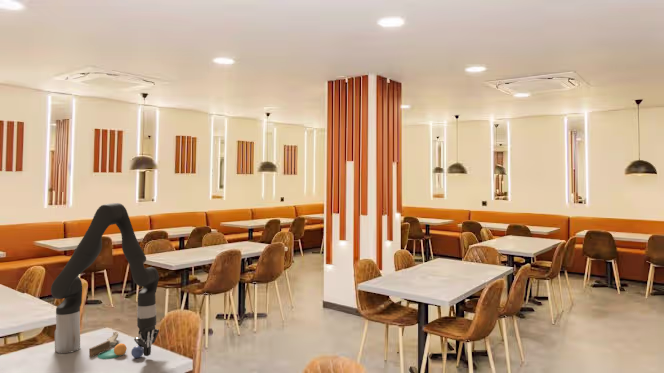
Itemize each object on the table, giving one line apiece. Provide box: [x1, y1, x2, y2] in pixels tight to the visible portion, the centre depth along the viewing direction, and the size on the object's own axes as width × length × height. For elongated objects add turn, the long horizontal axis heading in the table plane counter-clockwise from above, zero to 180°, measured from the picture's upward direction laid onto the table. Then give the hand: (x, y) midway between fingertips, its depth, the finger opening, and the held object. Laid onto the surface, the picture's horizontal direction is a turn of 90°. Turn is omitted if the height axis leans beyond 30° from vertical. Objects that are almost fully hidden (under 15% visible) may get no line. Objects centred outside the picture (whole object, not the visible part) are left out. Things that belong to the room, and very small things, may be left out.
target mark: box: [97, 348, 126, 360], centre depth 189 cm, size 11×11×1 cm
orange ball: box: [113, 342, 128, 357], centre depth 187 cm, size 5×5×5 cm
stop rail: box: [88, 340, 111, 358], centre depth 191 cm, size 1×10×4 cm, turn 163°
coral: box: [106, 331, 119, 348], centre depth 201 cm, size 6×10×4 cm, turn 21°
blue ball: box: [130, 345, 144, 359], centre depth 185 cm, size 5×5×5 cm
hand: (147, 355), depth 183 cm, fingers closed
